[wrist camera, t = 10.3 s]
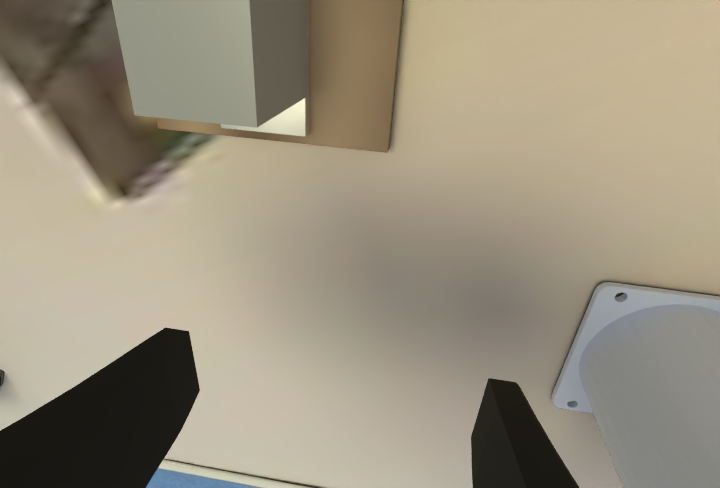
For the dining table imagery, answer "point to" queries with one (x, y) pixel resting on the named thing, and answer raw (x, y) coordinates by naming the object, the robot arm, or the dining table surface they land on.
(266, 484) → the tablet computer
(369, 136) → the board
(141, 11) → the block
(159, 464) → the robot arm
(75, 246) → the dining table surface
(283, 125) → the rail
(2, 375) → the mini dv tape
